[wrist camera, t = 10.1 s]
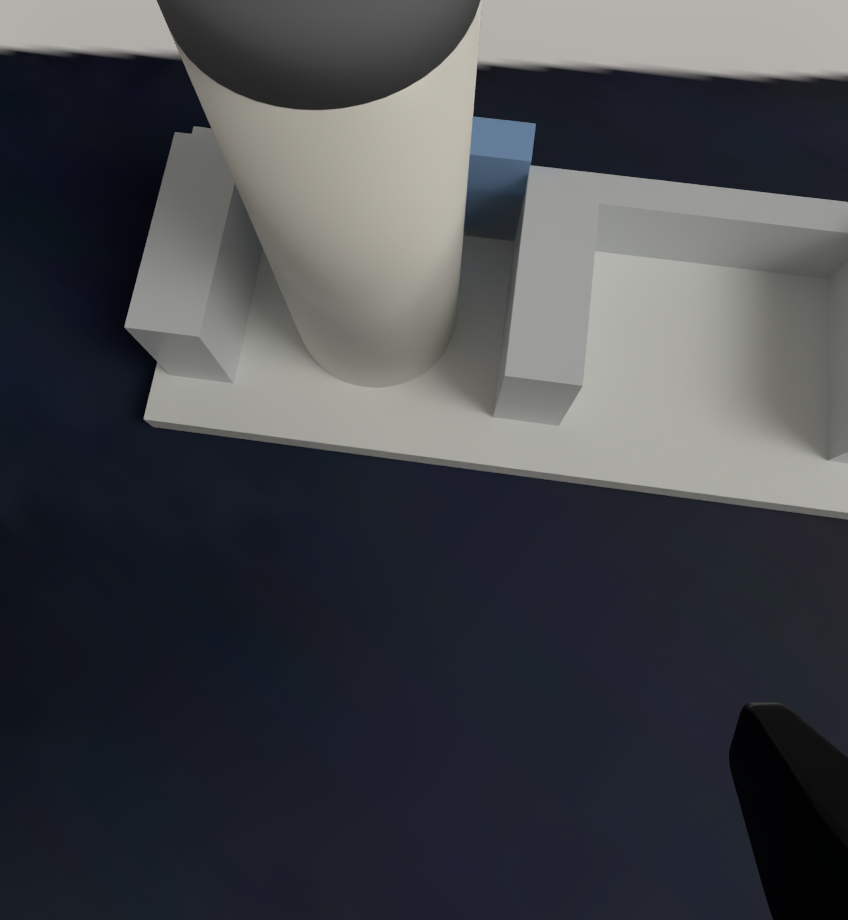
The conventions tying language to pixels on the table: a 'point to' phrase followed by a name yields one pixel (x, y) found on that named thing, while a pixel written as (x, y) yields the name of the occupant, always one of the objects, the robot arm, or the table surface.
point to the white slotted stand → (537, 334)
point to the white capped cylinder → (347, 161)
